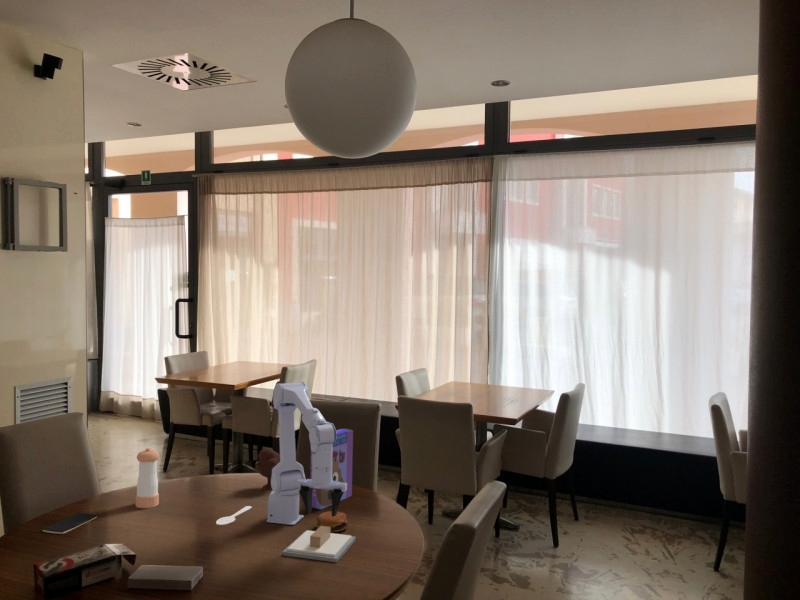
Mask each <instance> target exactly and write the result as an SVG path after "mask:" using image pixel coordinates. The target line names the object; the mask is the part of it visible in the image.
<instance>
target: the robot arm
mask: <svg viewBox="0 0 800 600" xmlns="http://www.w3.org/2000/svg"><path fill="white" fill-rule="evenodd" d="M272 397H273V409H275V410H277V413H278V415H277V416H278V430H279V431H278V433H279V434H278V435H279V454H280V462H279V463H278V464H277V465H276V466H275V467H274V468H273V469H272V477H271V487H272V490H271V492H270V493H269V496H268V500H267V519H266V523H273V524H281V525H289V526H294V525H296V524H297V523H298V522H299V521H301V520H302V518H304V516H305V515H303V514H300V513H299V512H300V497H301V499H302V501H303V504H304V507H305V513H306V514H307V515H309V514H310V513H312V511H313V508H312V493H313V488H318V489H328V490H334V491H333V492H332V493H331V499H332V505H331V511H332V516H333V517H334V516H335V515H336V514H337V512H338V509H339V505H340V502H341V501H340V500H341V497H342V495H343V493H344V492H345V491H346V490H347V483H342V482H338V481H333V480H332V455H333V444H332V443H335V441H336V438H337V433H336V430H337V429H336V427H335V424H334V423H332V422H330V421H327V420H326V419H325V417H324V416H323V414H322V413H321V412H320V410H319V409H318V408H316V407H313V405H312V403H311V400H310V398H309V388H308V385H307V383H306V382H305V381H301V382H286V383H280V382H279V383H276V384H275V386H274V388H273V390H272ZM296 409H298V410H299V412H300V413H301V414H302V416H301V421H302V423H303V424H304V426H305V428H306V429H307V430H308V432H309V433H308V438H309V443H310V452H311V451H312V479H310V478H307V479H306V475H305V472H304V470H305V469H304V465H302V464H301V463H299V462H298V461H297V459H296V458H297V457H296V455H297V454H296V437H295V436H296V431H295V430H296V429H295V410H296Z"/></svg>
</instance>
